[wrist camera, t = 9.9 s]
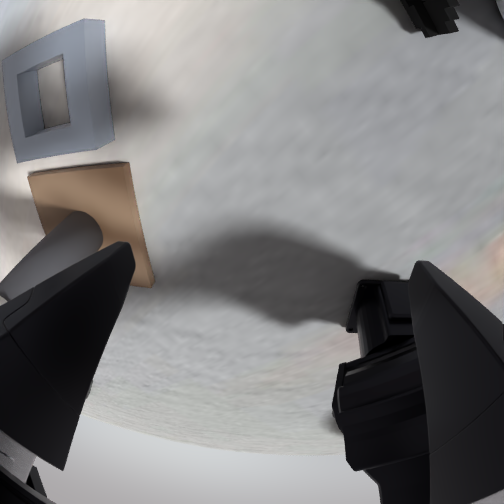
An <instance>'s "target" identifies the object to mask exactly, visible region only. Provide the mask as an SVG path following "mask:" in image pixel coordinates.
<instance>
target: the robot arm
mask: <svg viewBox="0 0 504 504" xmlns="http://www.w3.org/2000/svg"><path fill="white" fill-rule="evenodd" d="M135 268H136V262H135V258H134V255H133V251H132V248H131V245H130V243H129V242H124V241H117V242H115V243H113V244H111V245H109V246H107V247H105V248H103V249H101V250H99V251H98V252H96V253H94V254H92V255H90V256H88V257H86V258H84V259H82V260H81V261H79V262H77V263H75V264H73V265H71V266H69V267H68V268H66V269H64V270H62V271H60V272H59V273H57V274H55V275H53V276H51V277H50V278H48V279H46V280H44V281H43V282H41V283H39V284H37V285H36V286H35V287H32V288H31V289H29V290H27V291H25V292H24V293H22V294H20V295H18V296H17V297H15V298H13V299H11V300H10V301H8V302H6V303H4V304H2V305H1V306H0V504H56V503H54V502H53V501H51V500H49V499H48V498H47V496H46V493H45V490H44V488H43V485H42V482H41V479H40V476H39V473H38V470H37V468H36V467H34V466H33V463H34V461H35V458H36V456H38V457H39V458H41V459H43V460H44V461H46V462H48V463H49V464H51V465H53V466H55V467H56V468H58V469H60V470H62V471H63V470H64V467H65V464H66V461H67V457H68V453H69V450H70V446H71V443H72V439H73V436H74V433H75V430H76V427H77V424H78V420H79V415H80V414H81V411H82V408H83V405H84V402H85V399H86V396H87V394H88V391H89V388H90V385H91V383H92V380H93V377H94V374H95V372H96V369H97V367H98V364H99V361H100V359H101V356H102V354H103V351H104V349H105V346H106V344H107V342H108V339H109V337H110V334H111V332H112V330H113V327H114V325H115V323H116V320H117V318H118V316H119V314H120V311H121V309H122V306H123V304H124V301H125V298H126V295H127V292H128V289H129V286H130V283H131V280H132V277H133V274H134V272H135ZM363 285H365V286H364V287H362V286H363ZM346 331H347V332H348V333H358V338H359V346H360V354H361V358H359V359H356V360H353V361H350V362H348V363H346V362H344V363H341V364H339V369H338V374H337V380H336V385H335V391H334V397H333V402H332V409H333V412H332V414H333V417H334V418H335V419H336V422H337V425H338V427H339V429H340V430H341V432H342V433H343V435H344V441H345V452H346V461H347V462H348V463H349V465H350V466H351V468H352V469H353V470H354V471H360V470H363V471H364V472H365V473H366V474H367V475H368V476H369V477H370V478H371V479H372V480H374V481H375V483H377V485H378V487H379V494H380V503H381V504H472V503H473V504H504V324H502V322H501V321H500V320H499V319H498V318H497V317H496V316H495V315H494V314H492V313H491V312H490V311H489V310H488V309H487V308H486V307H485V306H483V305H482V304H481V303H480V302H479V301H478V300H476V299H475V298H474V297H473V296H472V295H471V294H469V293H468V292H467V291H466V290H465V289H463V288H462V287H461V286H460V285H458V284H457V283H456V282H455V281H454V280H452V279H451V278H450V277H449V276H447V275H446V274H445V273H443V272H442V271H441V270H440V269H438V268H437V267H436V266H434V265H433V264H432V263H431V262H429V261H420V260H418V261H417V262H416V263H415V265H414V268H413V271H412V273H411V276H410V279H409V282H394V281H374V280H361V281H360V282H358V285H357V288H356V292H355V296H354V300H353V303H352V307H351V310H350V314H349V317H348V320H347V324H346Z"/></svg>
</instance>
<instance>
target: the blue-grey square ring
mask: <svg viewBox="0 0 504 504" xmlns="http://www.w3.org/2000/svg"><path fill="white" fill-rule="evenodd" d="M62 59H64V72H65V83H66V93H67V101H68V109H69V116H70V122H71V123H67V124H62V125H58V126H54V127H51V128H47V129H45V128H44V123H43V116H42V110H41V102H40V94H39V85H38V74H37V70H38V69H41V68H43V67H45V66H47V65H50V64H52V63H55V62H57V61H60V60H62ZM2 67H3V81H4V91H5V100H6V107H7V114H8V121H9V127H10V132H11V137H12V142H13V147H14V152H15V156H16V160H17V163H21V162H25V161H30V160H35V159H40V158H46V157H51V156H57V155H63V154H69V153H76V152H82V151H90V150H97V149H99V148H100V147H102V146H104V145H106V144H108V143H110V142H112V141H113V140H115V136H114V129H113V122H112V114H111V106H110V97H109V87H108V76H107V62H106V44H105V20H95V19H82V20H80V21H77V22H75V23H72V24H70V25H68V26H66V27H63V28H61V29H59V30H57V31H55V32H53V33H51V34H49V35H47V36H45V37H43V38H41V39H39V40H37V41H35V42H33V43H31V44H29V45H27V46H26V47H24V48H22V49H20V50H19V51H17V52H15V53H14V54H12V55H10V56H9V57H7V58H5V59H4V60H2Z"/></svg>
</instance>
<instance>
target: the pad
mask: <svg viewBox="0 0 504 504" xmlns="http://www.w3.org/2000/svg"><path fill="white" fill-rule="evenodd" d="M27 178H28V181H29V185H30V189H31V192H32V195H33V199H34V202H35V205H36V208H37V211H38V215H39V218H40V220H41V223H42V226H43V229H44V232H45V235H47V234H48V233H50V232H51V231H52V230H53V229H54V228H55V227H56V226H57V225H58V224H59V223H61V222H62V221H63V220H64V219H65V218H66V217H67V216H68V215H70V214H71V213H72V212H74V211H83V212H85V213H87V214H89V215H90V216H92V217H93V218H94V219H95V220H96V222H97V223H98V224H99V226H100V228H101V231H102V234H103V244H102V246H101V247H100V249H99V250H101V249H103V248H105V247H107V246H109V245H111V244H113V243H115V242H117V241H124V242H129V243H130V245H131V248H132V251H133V255H134V258H135V262H136V268H135V272H134V274H133V277H132V280H131V283H130V286H138V287H146V288H152V286H153V284H154V283H155V279H154V275H153V272H152V268H151V264H150V260H149V256H148V252H147V248H146V243H145V239H144V235H143V231H142V226H141V222H140V217H139V212H138V207H137V202H136V197H135V192H134V187H133V182H132V176H131V170H130V164H129V162H128V163H115V164H103V165H93V166H83V167H74V168H66V169H58V170H50V171H43V172H37V173H33V174H31V175H30V176H28V177H27ZM99 250H98V251H99ZM98 251H97V252H98Z"/></svg>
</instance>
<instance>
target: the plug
mask: <svg viewBox="0 0 504 504" xmlns="http://www.w3.org/2000/svg"><path fill="white" fill-rule="evenodd" d="M102 244H103V234H102V231H101V228H100V226H99V224H98V223H97V222H96V220H95V219H94V218H93V217H92V216H90V215H89V214H87V213H85V212H83V211H74V212H72V213H71V214H70V215H68V216H67V217H66V218H65V219H64V220H63V221H62V222H61V223H59V224H58V225H57V226H56V227H55V228H54V229H53V230H52V231H51V232H50V233H48V234H47V235H46V236H45V237H44V238H43V239H42V240H41V241H40V242H39V243H38V244H37V245H36V246H35V247H34V248H33V249H32V250H31V251H30V252H29V253H28V254H27V255H26V256H25V257H24V258H23V259H22V260H21V261H20V262H19V263H18V264H17V265H16V266H15V267H14V268H13V269H12V270H11V272H10V273H9V274H8V275H7V276H6V277H5V278H4V279H3V280H2V281H1V283H0V306H1V305H2V304H4V303H6V302H8V301H10V300H11V299H13V298H15V297H17V296H18V295H20V294H22V293H24V292H25V291H27V290H29V289H31V288H32V287H35V286H36V285H37V284H39V283H41V282H43V281H44V280H46V279H48V278H50V277H51V276H53V275H55V274H57V273H59V272H60V271H62V270H64V269H66V268H68V267H69V266H71V265H73V264H75V263H77V262H79V261H81V260H82V259H84V258H86V257H88V256H90V255H92V254H94V253H96V252H97V251H98V250H99V249H100V247H101V246H102Z"/></svg>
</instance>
